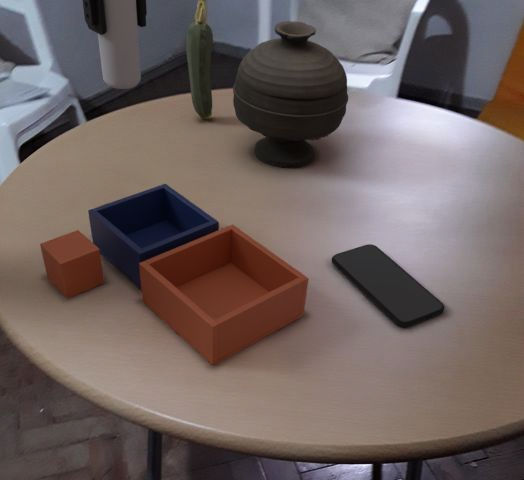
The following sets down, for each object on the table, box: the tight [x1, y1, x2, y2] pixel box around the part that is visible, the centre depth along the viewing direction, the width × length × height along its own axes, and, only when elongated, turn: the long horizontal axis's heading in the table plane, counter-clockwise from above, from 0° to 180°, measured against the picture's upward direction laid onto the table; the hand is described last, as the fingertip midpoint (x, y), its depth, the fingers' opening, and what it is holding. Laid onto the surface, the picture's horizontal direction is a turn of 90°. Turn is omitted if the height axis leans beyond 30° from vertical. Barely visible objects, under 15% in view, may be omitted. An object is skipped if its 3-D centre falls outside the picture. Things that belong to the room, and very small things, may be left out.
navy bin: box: [87, 183, 220, 292], centre depth 80 cm, size 12×12×6 cm
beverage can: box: [97, 0, 142, 90], centre depth 76 cm, size 5×5×12 cm
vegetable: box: [185, 0, 214, 120], centre depth 105 cm, size 4×4×20 cm
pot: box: [232, 20, 349, 169], centre depth 97 cm, size 18×18×20 cm
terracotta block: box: [39, 229, 105, 299], centre depth 75 cm, size 5×5×5 cm
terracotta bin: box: [139, 224, 309, 366], centre depth 73 cm, size 14×14×6 cm
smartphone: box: [331, 243, 445, 328], centre depth 79 cm, size 7×1×15 cm
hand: (117, 25), depth 76 cm, fingers closed on beverage can, 4 cm apart
